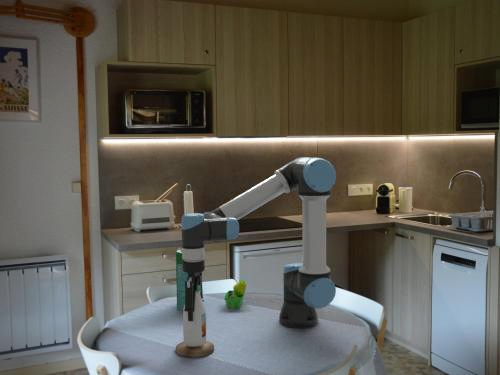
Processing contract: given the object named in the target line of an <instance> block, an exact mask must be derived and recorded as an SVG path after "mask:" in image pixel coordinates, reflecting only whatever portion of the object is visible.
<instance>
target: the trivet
mask: <svg viewBox="0 0 500 375" xmlns="http://www.w3.org/2000/svg"><path fill="white" fill-rule="evenodd" d="M214 351H215V344H214V343H213V342H211V341H210V340H209V341H208V340H206V343H205V344H204V345H202V346H197V347H190V346H187V345H185V344H184V341H182V342H179V343H178V344H176V345H175V353H176V354H177V356H179V357H183V358H189V359H194V358H195V359H196V358H203V357H207V356H209V355H211V354H212V353H214Z"/></svg>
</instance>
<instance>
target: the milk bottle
mask: <svg viewBox="0 0 500 375" xmlns="http://www.w3.org/2000/svg"><path fill="white" fill-rule="evenodd" d="M200 292H201V286H200V285H198V288H197V291H196V295H195V308H194V309H195V310H194V311H195V316H196V330H187V311H184V309H185V305H184V309H183V310H182V326H183V327H182V328H183V330H182V331H183V334H182V336H183V342H184V344H185V345H187V346H190V347H197V346H202V345H204V344H205V343H206V341H207V318H206V316H207V315H206V314H207V312H206V305H205V303H204V302H203V301H202V300H203V299H201V296H200Z"/></svg>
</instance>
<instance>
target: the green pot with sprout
mask: <svg viewBox="0 0 500 375" xmlns="http://www.w3.org/2000/svg"><path fill="white" fill-rule="evenodd" d="M246 288H247V283H246V280H244V279H240V280H239V282H237V283H236V284H234V285H233V287H232V289H233V290H228V291H227V292H226V294H225V295H224V297H223V299H224V301H225V304H226V308H227V309H231V310H233V309H234V310H235V309H236V310H239V309H240V308H241V306H242V304H243V301H244V298H245V295H246V290H247V289H246Z"/></svg>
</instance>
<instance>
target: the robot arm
mask: <svg viewBox="0 0 500 375" xmlns="http://www.w3.org/2000/svg"><path fill="white" fill-rule="evenodd" d="M336 180H337V172H336V169H335V167H334V165H333V164H331V162H330V161H328V160H326V159H324V158H320V157H307V156H301V157H297V158H295V159H293V160H292V161H290V162H288V163H287V164H285V165H283V166H281V167H280V168H278V169H276V170H275V171H274V173H273V175H272V176H270V177H269V178H266V179H265V180H263V181H261V182H260V183H258V184H256V185H255V186H252V187H250V189H247V190H246V191H245V192H243V193H241V194H239V195H238V196H236V197H234V198H232V199H230V200H229V201H227V202H226V203H224V204H222V205H220V206H218V207H217V208H215V209H214V210H212V211H206V212H204V213H201V212H200V213H198V212H195V213H194V212H191V213H184V214H182V216H181V225H180V226H181V227H180V229H181V248H182V250H181V252H182V259H184V260H183V261H182V270H183V272H185V273H188V277H187V281H185V309H184V311H187V330H196V316H195V311H194V310H195V309H194V308H195V295H196V291H197V288H198V285H200V286H201V292H200V296H201V299H202V301H203V303H204V302H205V300H204V292H203V272H204V271H205V270H206V268H205V266H206V265H205V263H206V261H205V242H210V241H211V242H212V241H230V240H236V239H237V238H238V237H239V234H240V223H239V221H238V220H240V219H241V218H243V217H245V216H246V215H248V214H250V213H251V212H253V211H255V210H257V209H258V208H260V207H262V206H263V205H265V204H266V203H269V202H270V201H272V200H274V199H275V198H277V197H279V196H281V195H282V194H284V193H286V194H289V193H291V192H292V191H294V190H297V193H298V194H297V195H298V197H299V198H300V199H301V202H302V203H301V205H302V207H301V208H302V212H301V213H302V262H295V263H288V264H285V265H284V267H283V273H282V275H283V278H282V280H283V302H282V306H281V309H280V313H279V318H278V321H279V323H280V324H281V325H283V326H284V327H288V328H295V329H297V328H299V329H300V328H301V329H303V328H310V327H314V326H316V325H317V324H318V323H319V316H318V313H317V309H325V308H326V307H328V306H329V305H330V304H331V303H332V302H333V301H334V298H335V297H336V292H337V291H336V290H337V289H336V285H335V283H334V281H332V279H331V268H330V267H329V266H327V200H328V199H329V198H330V196H331V193H332V192H331V191H332V190H331V189H332V188H333V186H334V185H335V184H336Z"/></svg>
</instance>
